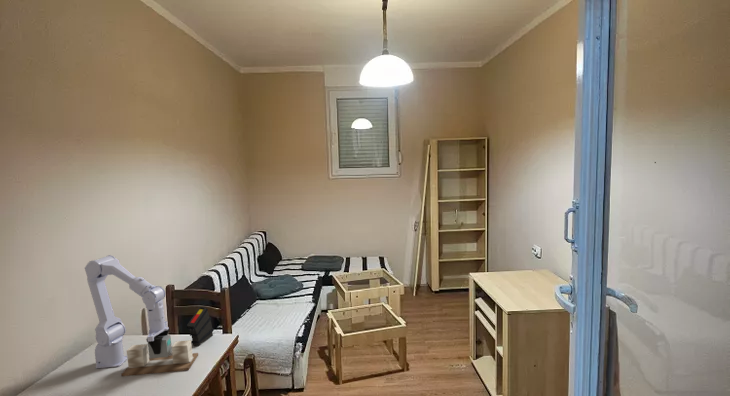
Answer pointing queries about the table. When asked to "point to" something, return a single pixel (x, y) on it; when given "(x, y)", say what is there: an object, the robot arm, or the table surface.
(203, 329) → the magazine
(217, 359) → the table surface
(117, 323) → the robot arm
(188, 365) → the board
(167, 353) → the block
